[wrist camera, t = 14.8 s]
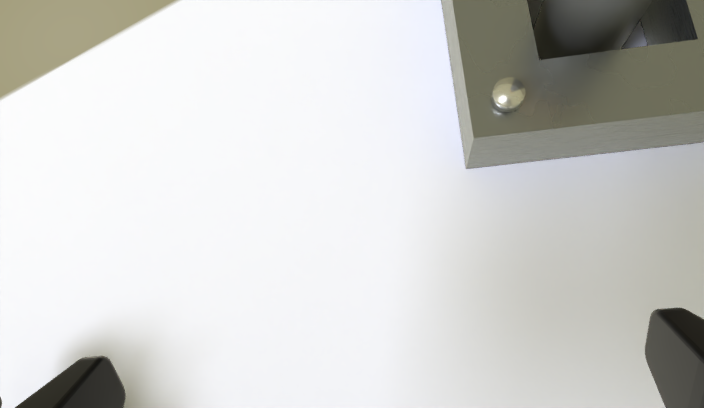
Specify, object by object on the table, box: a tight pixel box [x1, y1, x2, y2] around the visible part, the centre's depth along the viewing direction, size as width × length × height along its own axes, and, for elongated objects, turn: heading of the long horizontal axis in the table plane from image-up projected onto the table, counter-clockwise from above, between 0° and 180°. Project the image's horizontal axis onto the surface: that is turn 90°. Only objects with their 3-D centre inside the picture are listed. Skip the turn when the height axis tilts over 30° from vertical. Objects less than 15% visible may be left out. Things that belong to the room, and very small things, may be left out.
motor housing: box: [441, 0, 704, 169], centre depth 22 cm, size 12×12×4 cm
